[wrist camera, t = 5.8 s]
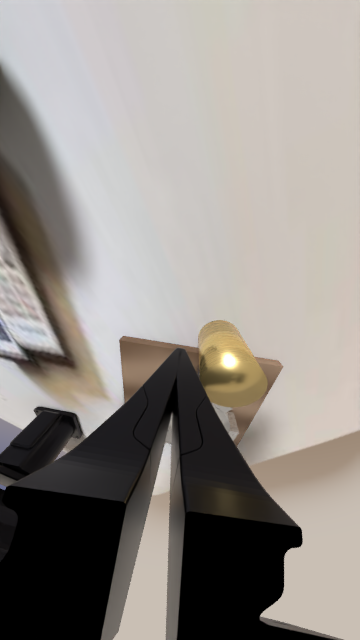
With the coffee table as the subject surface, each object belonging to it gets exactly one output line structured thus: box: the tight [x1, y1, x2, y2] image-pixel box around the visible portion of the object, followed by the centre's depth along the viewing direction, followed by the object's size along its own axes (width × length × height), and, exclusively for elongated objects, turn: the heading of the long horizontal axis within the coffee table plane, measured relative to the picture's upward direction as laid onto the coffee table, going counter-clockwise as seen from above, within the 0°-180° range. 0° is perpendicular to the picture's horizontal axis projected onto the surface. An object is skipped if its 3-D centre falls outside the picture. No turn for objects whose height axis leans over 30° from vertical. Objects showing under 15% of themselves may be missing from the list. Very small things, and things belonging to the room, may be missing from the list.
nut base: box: [119, 336, 283, 447], centre depth 17 cm, size 16×16×1 cm
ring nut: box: [165, 320, 268, 444], centre depth 12 cm, size 18×11×6 cm, turn 168°
